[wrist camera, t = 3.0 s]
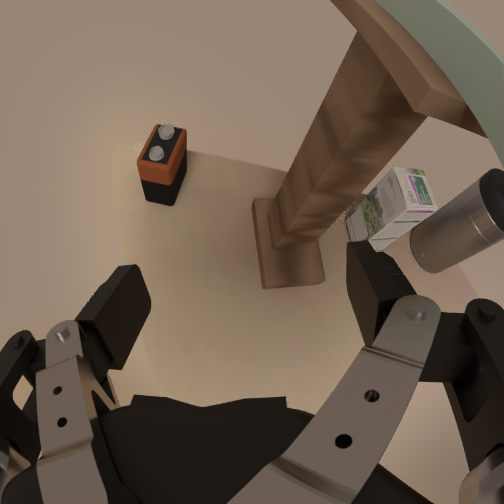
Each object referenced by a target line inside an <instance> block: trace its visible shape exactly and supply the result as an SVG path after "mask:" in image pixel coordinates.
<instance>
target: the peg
mask: <svg viewBox="0 0 504 504" xmlns="http://www.w3.org/2000/svg"><path fill="white" fill-rule="evenodd" d="M375 1H376V2H377V3H378V4H379V5H381V6H382V7H383V8H384V9H385V10H386V11H387V12H388V13H389V14H390V15H392V16H393V17H394V18H395V19H396V20H397V21H398V22H399V23H400V24H401V25H402V26H403V27H404V28H405V29H406V30H407V31H408V32H409V33H410V34H411V35H412V36H413V37H414V38H415V40H416V41H417V42H418V43H419V44H420V45H421V46H422V47H423V48H424V49H425V51H426V52H427V53H428V54H429V55H430V56H431V57H432V59H433V60H434V61H435V62H436V63H437V65H438V66H439V67H440V68H441V70H442V71H443V72H444V73H445V75H446V76H447V77H448V79H449V80H450V81H451V82H452V84H453V85H454V87H455V88H456V89H457V91H458V92H459V93H460V95H461V96H462V98H463V99H464V101H465V102H466V104H467V105H468V107H469V108H470V110H471V111H472V113H473V114H474V116H475V117H476V119H477V121H478V122H479V124H480V125H481V127H482V129H483V130H484V132H485V134H486V136H487V137H488V139H489V141H490V143H491V144H492V146H493V148H494V150H495V152H496V154H497V155H498V158H499V160H500V161H501V163H502V165H503V167H504V56H503V55H502V54H501V53H500V51H499V50H497V48H496V47H495V46H494V45H493V44H492V43H491V42H490V41H489V40H488V39H487V38H486V37H485V36H484V35H483V34H482V33H480V31H478V30H477V29H476V28H475V27H474V26H473V25H472V24H471V23H470V22H469V21H468V20H466V19H465V18H464V17H463V16H462V15H460V14H459V13H458V12H457V11H456V10H454V9H453V8H452V7H451V6H449V5H448V4H447V3H446V2H444V1H443V0H375Z"/></svg>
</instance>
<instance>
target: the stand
mask: <svg viewBox="0 0 504 504" xmlns="http://www.w3.org/2000/svg"><path fill="white" fill-rule="evenodd" d="M331 2H332V3H333V4H334V5H335V6H336V7H337V8H338V9H339V10H340V11H341V13H342V14H343V15H344V16H345V17H346V18H347V19H348V20H349V22H350V23H351V24H352V25H353V26H354V27H355V28H356V30H357V33H356V35H355V37H354V39H353V41H352V43H351V45H350V47H349V49H348V51H347V53H346V55H345V57H344V59H343V61H342V64H341V65H340V67H339V69H338V72H337V73H336V75H335V78H334V80H333V82H332V84H331V86H330V88H329V90H328V92H327V94H326V96H325V98H324V100H323V102H322V104H321V106H320V108H319V110H318V112H317V114H316V116H315V119H314V120H313V123H312V125H311V127H310V129H309V131H308V133H307V135H306V137H305V139H304V141H303V143H302V145H301V147H300V149H299V151H298V153H297V155H296V157H295V160H294V161H293V163H292V166H291V168H290V170H289V172H288V174H287V176H286V178H285V180H284V182H283V184H282V186H281V188H280V190H279V192H278V194H277V196H276V198H275V199H254V201H253V203H252V213H253V221H254V228H255V236H256V243H257V250H258V258H259V265H260V273H261V281H262V288H263V289H271V288H282V287H294V286H304V285H315V284H320V283H322V282H323V281H325V275H324V269H323V264H322V259H321V254H320V249H319V244H318V238H319V237H320V236H321V235H322V234H323V233H324V232H325V231H326V230H327V229H328V228H329V227H330V226H331V225H332V223H333V222H334V221H335V220H336V219H337V218H338V217H339V216H340V215H341V214H342V213H343V212H344V211H345V210H346V208H347V207H348V206H349V205H350V204H351V203H352V202H353V201H354V200H355V199H356V198H357V196H358V195H359V194H360V193H361V192H362V191H363V190H364V189H365V188H366V187H367V185H368V184H369V183H370V182H371V181H372V180H373V178H375V176H376V175H377V174H378V173H379V172H380V171H381V170H382V169H383V168H384V166H385V165H386V164H387V163H388V162H389V161H390V160H391V158H392V157H393V156H394V155H395V154H396V153H397V152H398V151H399V149H400V148H401V147H402V146H403V145H404V144H405V142H406V141H407V140H408V139H409V138H410V137H411V135H412V134H413V133H414V132H415V131H416V130H417V129H418V127H419V126H420V125H421V124H422V123H423V121H424V120H425V119H426V118H427V116H430V117H433V118H437V119H439V120H442V121H445V122H448V123H450V124H453V125H456V126H459V127H461V128H464V129H466V130H469V131H471V132H473V133H476V134H478V135H481V136H483V137H485V138H488V137H487V136H486V134H485V132H484V130H483V129H482V127H481V125H480V124H479V122H478V121H477V119H476V117H475V116H474V114H473V113H472V111H471V110H470V108H469V107H468V105H467V104H466V102H465V101H464V99H463V98H462V96H461V95H460V93H459V92H458V91H457V89H456V88H455V87H454V85H453V84H452V82H451V81H450V80H449V79H448V77H447V76H446V75H445V73H444V72H443V71H442V70H441V68H440V67H439V66H438V65H437V63H436V62H435V61H434V60H433V59H432V57H431V56H430V55H429V54H428V53H427V52H426V51H425V49H424V48H423V47H422V46H421V45H420V44H419V43H418V42H417V41H416V40H415V38H414V37H413V36H412V35H411V34H410V33H409V32H408V31H407V30H406V29H405V28H404V27H403V26H402V25H401V24H400V23H399V22H398V21H397V20H396V19H395V18H394V17H393V16H392V15H390V14H389V13H388V12H387V11H386V10H385V9H384V8H383V7H382V6H381V5H379V4H378V3H377V2H376V1H375V0H331Z"/></svg>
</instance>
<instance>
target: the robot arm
mask: <svg viewBox="0 0 504 504" xmlns="http://www.w3.org/2000/svg"><path fill="white" fill-rule="evenodd" d="M502 239H504V171H502V170H500V169H491V170H490V171H488V172H487V173H486V174H484V175H483V176H482V177H481V178H479V179H478V180H477V181H476V182H474V183H473V184H472V185H471V186H469V187H468V188H467V189H466V190H464V191H463V192H462V193H461V194H459V195H458V196H457V197H455V198H454V199H453V200H452V201H450V202H449V203H448V204H446V205H445V206H443V207H442V208H441V209H440V210H438V211H437V212H435V213H434V214H433V215H431V216H430V217H429V218H427V219H426V220H424V221H423V222H422V223H420V224H419V225H418V226H416V227H415V228H414V229H413V231H412V233H411V239H410V240H411V248H412V252H413V255H414V257H415V259H416V260H417V262H418V263H419V265H420V266H421V267H422V268H423V269H425V270H426V271H428V272H430V273H438V272H440V271H443V270H445V269H447V268H449V267H451V266H453V265H455V264H457V263H459V262H461V261H463V260H465V259H467V258H469V257H471V256H473V255H475V254H477V253H479V252H481V251H482V250H484V249H486V248H488V247H490V246H492V245H493V244H495V243H497V242H499V241H500V240H502ZM346 284H347V292H348V296H349V299H350V301H351V304H352V307H353V310H354V313H355V316H356V319H357V322H358V325H359V328H360V331H361V334H362V337H363V340H364V343H365V346H364V347H363V348H362V349H361V351H360V352H359V354H358V355H357V357H356V358H355V360H354V361H353V363H352V364H351V366H350V367H349V369H348V370H347V372H346V373H345V375H344V376H343V378H342V379H341V381H340V382H339V383H338V385H337V386H336V388H335V389H334V391H333V392H332V393H331V395H330V396H329V397H328V399H327V400H326V402H325V403H324V404H323V406H322V407H321V408H320V410H319V411H318V412H317V413H316V415H314V414H311V413H308V412H305V411H301V410H297V409H292V408H287V402H286V396H284V397H270V398H247V399H241V400H236V401H232V402H227V403H222V404H218V405H213V406H207V407H199V406H195V405H191V404H187V403H184V402H181V401H177V400H174V399H171V398H167V397H155V396H144V395H134V396H133V398H132V401H131V404H130V405H128V406H124V407H121V406H120V404H119V401H118V398H117V395H116V393H115V390H114V387H113V384H112V381H111V378H110V376H109V375H108V373H107V372H108V370H109V369H115V370H122V368H123V366H124V364H125V362H126V360H127V358H128V356H129V354H130V352H131V350H132V348H133V345H134V343H135V341H136V339H137V337H138V335H139V333H140V331H141V329H142V327H143V325H144V323H145V321H146V319H147V317H148V315H149V313H150V310H151V298H150V295H149V292H148V290H147V287H146V284H145V282H144V279H143V276H142V273H141V271H140V268H139V267H138V266H137V265H136V264H133V265H124V266H118V267H117V268H116V270H115V271H114V272H113V273H112V275H111V276H110V277H109V279H108V280H107V281H106V282H105V283H103V284H102V285H101V286H100V287H99V288H98V289H97V291H96V292H95V293H94V295H93V296H92V297H91V298H90V300H89V302H87V304H86V305H85V306H84V308H83V309H82V310H81V312H80V313H79V314H78V316H77V317H76V318H75V320H66V321H63V322H60V323H58V324H57V325H55V326H54V327H53V328H52V329H51V330H50V331H49V332H48V334H47V336H46V339H43V340H38V341H36V340H35V338H34V337H33V335H32V334H31V332H30V331H28V330H23V331H20V332H18V333H16V334H15V335H13V336H12V337H11V338H10V339H9V340H8V342H7V343H6V344H5V346H4V347H3V349H2V350H1V352H0V504H433V503H432V502H431V501H429V500H428V499H426V498H425V497H423V496H422V495H421V494H419V493H418V492H416V491H415V490H414V489H412V488H411V487H409V486H408V485H407V484H405V483H404V482H402V481H401V480H400V479H399V478H397V477H396V476H395V475H393V474H392V473H391V472H389V471H388V470H387V469H385V468H384V467H383V466H381V465H380V464H379V463H378V462H379V460H380V459H381V457H382V455H383V454H384V452H385V450H386V448H387V446H388V444H389V443H390V441H391V439H392V437H393V435H394V433H395V431H396V429H397V427H398V425H399V423H400V421H401V419H402V417H403V415H404V413H405V411H406V409H407V406H408V404H409V402H410V400H411V397H412V395H413V392H414V390H415V388H416V386H417V383H418V381H419V382H421V381H422V382H443V385H444V387H445V390H446V393H447V396H448V399H449V401H450V404H451V407H452V410H453V413H454V416H455V420H456V423H457V426H458V430H459V433H460V436H461V440H462V443H463V447H464V451H465V455H466V459H467V463H468V467H469V471H470V473H468V474H467V476H466V477H465V478H464V480H463V481H462V484H461V486H460V489H459V504H504V310H503V308H502V307H501V306H500V305H498V304H497V303H495V302H493V301H491V300H488V299H481V298H479V299H474V300H472V301H470V302H469V303H468V304H467V306H466V310H465V313H447V312H441V311H440V308H439V306H438V305H437V304H436V303H435V302H434V301H433V300H431V299H430V298H427V297H424V296H420V295H417V293H416V292H415V290H414V289H413V287H412V286H411V284H410V283H409V281H408V280H407V278H406V277H405V275H404V274H403V272H402V271H401V269H400V268H398V265H397V263H396V262H395V260H394V259H393V258H392V257H390V256H389V255H387V254H386V253H384V252H376V251H375V250H374V248H373V247H372V245H371V244H370V242H369V241H368V240H362V241H353V242H348V243H347V270H346ZM22 375H23V376H24V377H25V378H26V380H27V381H28V382H29V383H30V385H31V386H32V387H33V390H32V392H31V394H30V396H29V398H28V400H27V402H26V404H25V405H24V407H23V409H22V410H21V409H20V408H19V407H18V406H17V405H16V404H15V402H14V400H13V390H14V388H15V387H16V385H17V383H18V381H19V379H20V378H21V376H22ZM41 450H42V456H41V458H39V459H38V457H39V454H40V451H41ZM37 459H38V461H37Z"/></svg>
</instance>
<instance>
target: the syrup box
mask: <svg viewBox="0 0 504 504" xmlns="http://www.w3.org/2000/svg"><path fill="white" fill-rule="evenodd" d="M437 209H438V206H437V204H436V201H435V198H434V196H433V193H432V191H431V188H430V185H429V183H428V181H427V178H426V176H425V174H424V171H422V170H418V169H413V168H405V167H393V168H392V169H391V170H390V171H389V172H388V173H387V174H386V175H385V177H384V178H383V179H382V180H381V181H380V182H379V183H378V184H377V185H376V186H375V187H374V188H373V189H372V191H371V192H370V193H369V194H368V195H367V196H366V197H365V198H364V199H363V200H362V201H361V202H360V203H359V204H358V205H357V207H356V208H355V209H354V210H353V211H352V212H351V213H350V214H349V215H348V216H347V217H346V218H345V222H346V225H347V229H348V233H349V237H350V241H351V242H353V241H362V240H368V241H369V242H370V244H371V245H372V247H373V248H374V250H382V249H384V248H385V247H386V246H388V245H389V244H390V243H392V242H393V241H395V240H396V239H397V238H399V237H400V236H402V235H403V234H404V233H406V232H407V231H409V230H410V229H412V228H413V227H414V226H416V225H417V224H419V223H420V222H422V221H423V220H424V219H426V218H427V217H429V216H430V215H431V214H432V213H434V212H435V211H436V210H437Z"/></svg>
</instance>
